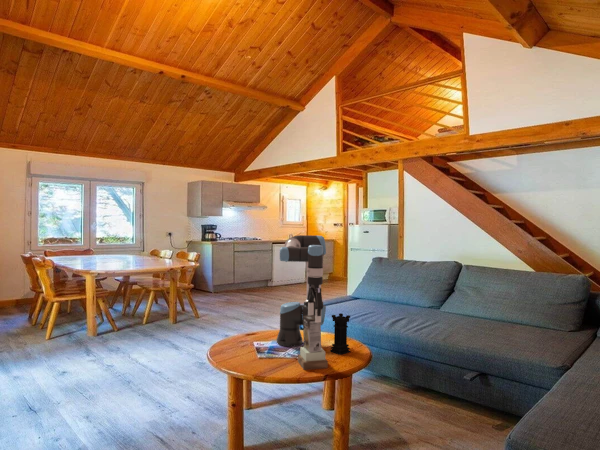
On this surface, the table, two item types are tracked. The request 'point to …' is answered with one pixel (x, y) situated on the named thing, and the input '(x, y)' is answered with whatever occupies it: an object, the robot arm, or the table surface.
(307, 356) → the sage block
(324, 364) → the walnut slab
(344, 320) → the chess piece
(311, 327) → the coffee box
